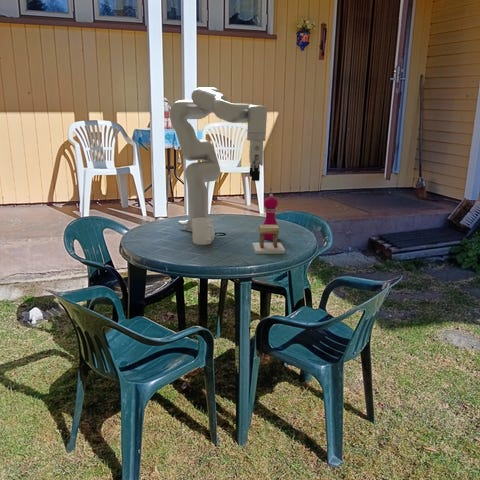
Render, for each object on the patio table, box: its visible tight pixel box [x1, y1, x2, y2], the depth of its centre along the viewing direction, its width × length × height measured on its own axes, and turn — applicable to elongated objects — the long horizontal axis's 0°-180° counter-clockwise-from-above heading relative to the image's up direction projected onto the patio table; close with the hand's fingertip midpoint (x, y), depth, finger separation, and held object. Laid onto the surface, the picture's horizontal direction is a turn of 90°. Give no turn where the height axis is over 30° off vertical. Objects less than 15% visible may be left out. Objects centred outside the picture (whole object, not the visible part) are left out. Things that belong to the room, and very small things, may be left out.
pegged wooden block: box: [258, 224, 280, 248], centre depth 202 cm, size 5×8×8 cm, turn 94°
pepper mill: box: [262, 193, 279, 241], centre depth 218 cm, size 7×7×20 cm
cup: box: [192, 217, 216, 246], centre depth 209 cm, size 8×12×10 cm
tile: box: [252, 242, 286, 255], centre depth 203 cm, size 12×12×1 cm
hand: (254, 178), depth 205 cm, fingers open, 9 cm apart
